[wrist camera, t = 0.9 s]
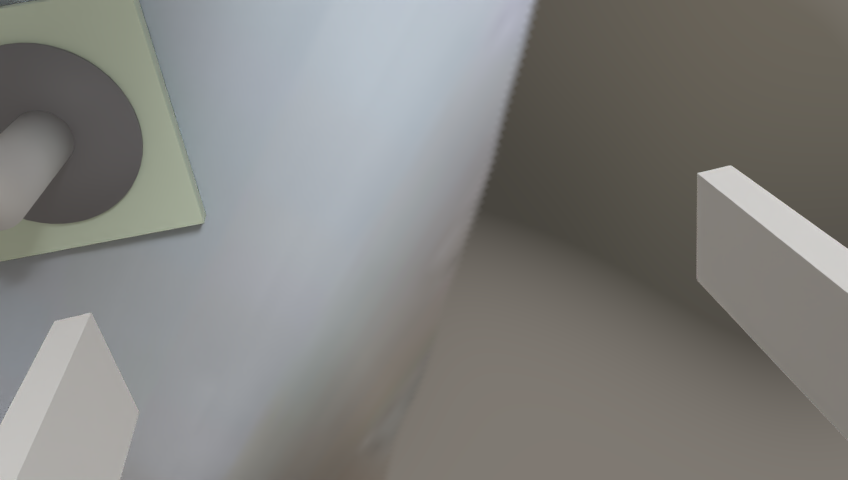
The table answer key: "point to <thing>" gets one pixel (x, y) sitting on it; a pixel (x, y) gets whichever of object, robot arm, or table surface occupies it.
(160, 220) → the peg stand
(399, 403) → the table surface
